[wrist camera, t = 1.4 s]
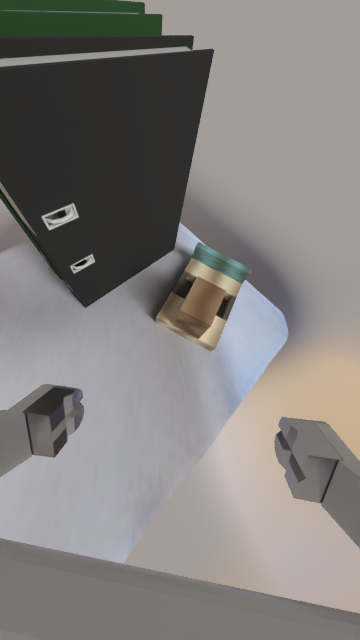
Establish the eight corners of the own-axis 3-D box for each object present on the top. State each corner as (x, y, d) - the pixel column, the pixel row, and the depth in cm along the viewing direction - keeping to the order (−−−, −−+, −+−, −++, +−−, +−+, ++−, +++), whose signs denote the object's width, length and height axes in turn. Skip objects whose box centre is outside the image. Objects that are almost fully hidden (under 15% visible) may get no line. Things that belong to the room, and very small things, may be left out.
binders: (142, 218, 53) (139, -1, 24) (177, 252, 50) (223, 56, 21) (48, 264, 43) (-160, -22, 13) (87, 310, 40) (-64, 82, 11)
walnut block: (173, 325, 39) (179, 309, 32) (188, 296, 42) (198, 276, 35) (198, 339, 39) (211, 325, 32) (212, 309, 42) (226, 290, 35)
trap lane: (155, 322, 42) (157, 308, 35) (191, 261, 50) (198, 242, 44) (210, 351, 42) (223, 343, 35) (238, 285, 50) (251, 269, 43)
